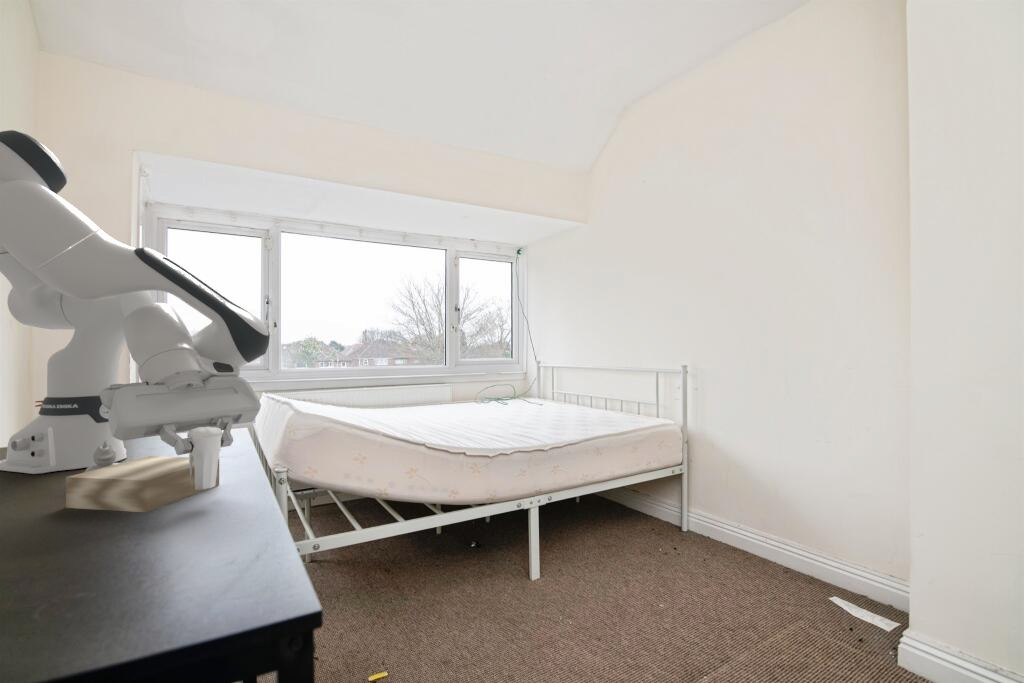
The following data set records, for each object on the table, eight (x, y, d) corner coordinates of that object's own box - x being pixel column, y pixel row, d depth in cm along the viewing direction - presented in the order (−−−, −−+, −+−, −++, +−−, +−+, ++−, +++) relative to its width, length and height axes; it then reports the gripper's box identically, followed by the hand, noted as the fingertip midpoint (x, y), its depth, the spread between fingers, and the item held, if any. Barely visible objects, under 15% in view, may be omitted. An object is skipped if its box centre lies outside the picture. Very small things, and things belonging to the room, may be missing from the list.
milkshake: (231, 482, 76) (233, 418, 76) (206, 491, 70) (209, 423, 71) (204, 481, 76) (206, 417, 76) (177, 490, 71) (180, 422, 71)
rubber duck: (83, 492, 80) (83, 444, 80) (84, 483, 85) (85, 438, 85) (125, 485, 83) (125, 439, 84) (124, 478, 88) (124, 434, 89)
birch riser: (65, 510, 72) (66, 477, 72) (149, 484, 86) (149, 456, 86) (146, 514, 70) (146, 480, 70) (219, 486, 84) (219, 458, 84)
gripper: (101, 371, 68) (129, 448, 63) (247, 364, 85) (278, 424, 80) (90, 400, 71) (116, 476, 65) (234, 388, 88) (263, 448, 82)
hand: (206, 448), depth 73 cm, fingers closed on milkshake, 4 cm apart
